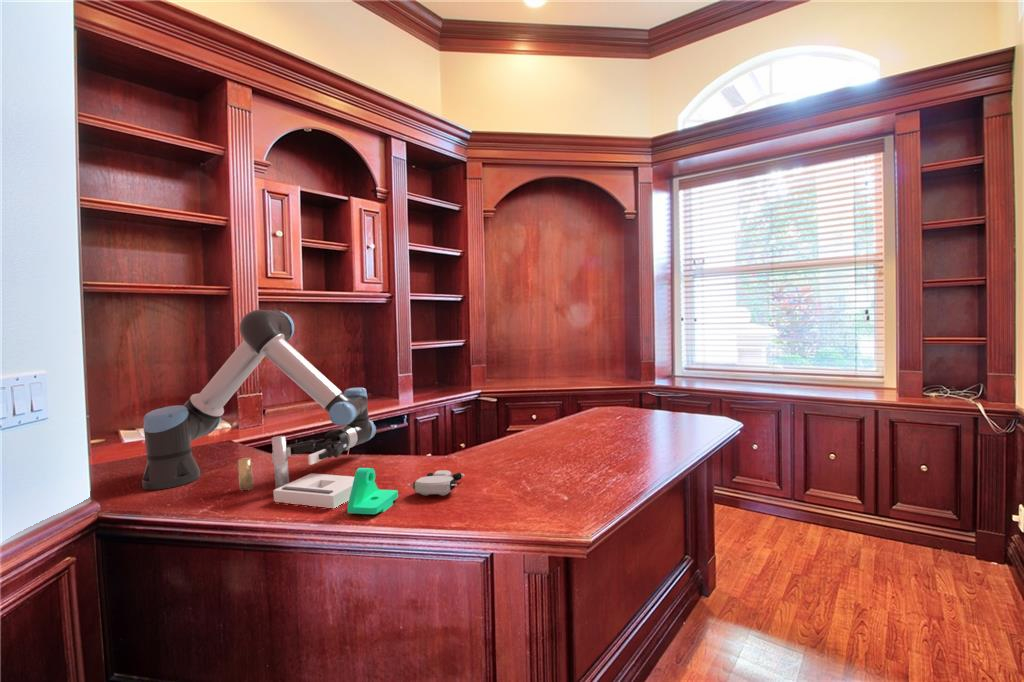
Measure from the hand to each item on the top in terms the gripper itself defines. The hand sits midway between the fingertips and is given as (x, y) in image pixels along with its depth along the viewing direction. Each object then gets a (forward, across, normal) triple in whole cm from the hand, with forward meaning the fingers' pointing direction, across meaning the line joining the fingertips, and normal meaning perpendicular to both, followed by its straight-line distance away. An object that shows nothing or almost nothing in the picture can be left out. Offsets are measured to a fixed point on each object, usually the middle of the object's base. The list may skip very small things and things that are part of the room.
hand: (290, 459), depth 141 cm
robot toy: (-8, -44, -9) cm, 45 cm away
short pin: (+3, +15, -9) cm, 17 cm away
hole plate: (+3, -13, -9) cm, 16 cm away
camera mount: (+7, -33, -9) cm, 35 cm away
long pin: (+3, +1, -9) cm, 9 cm away
